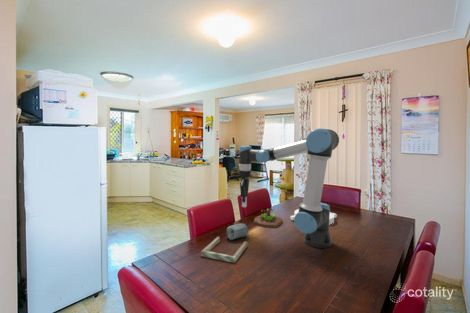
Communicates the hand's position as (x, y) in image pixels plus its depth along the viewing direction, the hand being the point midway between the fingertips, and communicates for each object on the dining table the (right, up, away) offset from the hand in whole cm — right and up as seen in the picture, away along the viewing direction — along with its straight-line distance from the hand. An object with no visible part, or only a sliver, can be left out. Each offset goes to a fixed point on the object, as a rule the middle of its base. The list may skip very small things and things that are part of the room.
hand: (244, 206), depth 157 cm
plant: (+17, -15, +16) cm, 28 cm away
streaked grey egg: (-4, -17, -11) cm, 20 cm away
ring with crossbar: (+53, -15, +25) cm, 60 cm away
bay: (-11, -17, -27) cm, 34 cm away
